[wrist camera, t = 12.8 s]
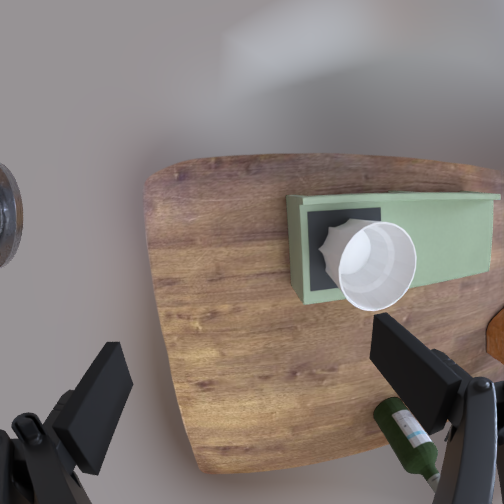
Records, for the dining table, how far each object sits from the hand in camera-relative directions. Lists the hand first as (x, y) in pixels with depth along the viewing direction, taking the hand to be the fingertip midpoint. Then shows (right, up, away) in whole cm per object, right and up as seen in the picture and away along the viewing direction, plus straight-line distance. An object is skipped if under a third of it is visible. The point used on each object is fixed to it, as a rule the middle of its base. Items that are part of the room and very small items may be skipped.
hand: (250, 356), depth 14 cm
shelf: (+25, +9, +36) cm, 45 cm away
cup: (+13, +6, +26) cm, 30 cm away
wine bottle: (+33, -33, +45) cm, 65 cm away
